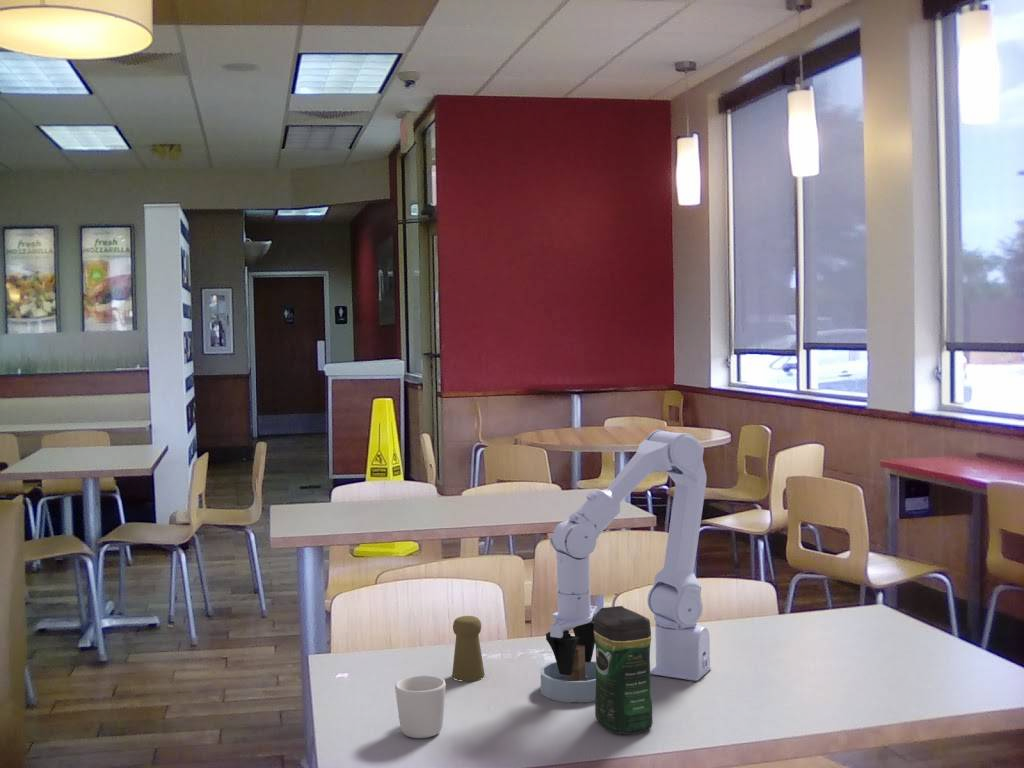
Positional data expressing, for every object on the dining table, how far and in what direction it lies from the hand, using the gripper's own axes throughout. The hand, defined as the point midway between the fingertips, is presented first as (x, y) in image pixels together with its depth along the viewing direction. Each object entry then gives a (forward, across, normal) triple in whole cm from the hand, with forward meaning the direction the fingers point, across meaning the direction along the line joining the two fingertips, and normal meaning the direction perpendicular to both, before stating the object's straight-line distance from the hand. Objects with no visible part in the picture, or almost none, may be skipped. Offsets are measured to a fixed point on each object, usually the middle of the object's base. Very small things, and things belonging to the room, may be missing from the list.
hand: (575, 667), depth 184 cm
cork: (+4, +2, -21) cm, 22 cm away
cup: (+4, +27, -14) cm, 31 cm away
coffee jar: (+4, +11, +14) cm, 18 cm away
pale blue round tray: (+4, 0, 0) cm, 4 cm away
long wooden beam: (+3, 0, 0) cm, 3 cm away
